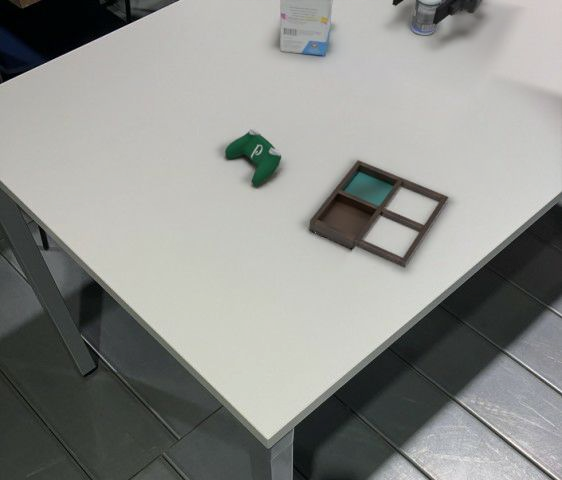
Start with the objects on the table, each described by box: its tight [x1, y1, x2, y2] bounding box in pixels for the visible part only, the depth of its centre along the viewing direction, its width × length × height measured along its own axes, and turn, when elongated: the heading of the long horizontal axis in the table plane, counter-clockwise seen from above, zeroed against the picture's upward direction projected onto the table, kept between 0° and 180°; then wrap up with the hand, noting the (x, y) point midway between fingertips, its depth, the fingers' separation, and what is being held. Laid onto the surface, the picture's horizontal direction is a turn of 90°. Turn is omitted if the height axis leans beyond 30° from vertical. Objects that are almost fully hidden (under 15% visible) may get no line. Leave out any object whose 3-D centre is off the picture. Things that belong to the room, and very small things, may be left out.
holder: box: [308, 160, 450, 268], centre depth 92 cm, size 15×15×2 cm
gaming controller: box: [224, 128, 282, 187], centre depth 97 cm, size 9×4×6 cm
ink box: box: [279, 0, 334, 57], centre depth 111 cm, size 9×8×13 cm
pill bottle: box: [410, 0, 443, 36], centre depth 116 cm, size 5×5×8 cm
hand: (415, 6), depth 113 cm, fingers open, 8 cm apart
